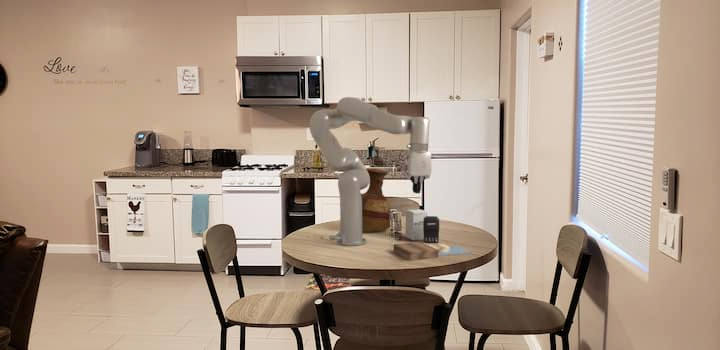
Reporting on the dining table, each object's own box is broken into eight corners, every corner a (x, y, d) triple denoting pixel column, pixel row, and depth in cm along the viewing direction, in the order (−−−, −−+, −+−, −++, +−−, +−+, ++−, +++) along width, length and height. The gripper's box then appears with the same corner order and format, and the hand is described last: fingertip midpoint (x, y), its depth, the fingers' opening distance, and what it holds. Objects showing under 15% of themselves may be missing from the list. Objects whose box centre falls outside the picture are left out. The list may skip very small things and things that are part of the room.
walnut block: (410, 260, 208) (410, 252, 208) (393, 251, 222) (393, 244, 222) (438, 257, 213) (438, 249, 213) (420, 248, 227) (420, 241, 226)
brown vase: (389, 235, 253) (389, 170, 250) (346, 234, 256) (345, 170, 253) (393, 226, 273) (393, 166, 269) (353, 225, 276) (353, 166, 273)
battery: (423, 243, 237) (423, 217, 235) (422, 241, 240) (422, 215, 239) (439, 243, 236) (440, 217, 235) (438, 241, 240) (439, 215, 239)
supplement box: (412, 240, 242) (412, 212, 241) (405, 237, 249) (405, 209, 248) (427, 239, 245) (427, 211, 243) (419, 235, 252) (419, 208, 250)
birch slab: (432, 253, 217) (432, 248, 217) (425, 250, 223) (425, 245, 223) (449, 251, 220) (449, 246, 220) (442, 248, 226) (442, 243, 226)
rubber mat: (437, 256, 214) (437, 255, 214) (422, 249, 226) (422, 248, 226) (471, 252, 220) (471, 251, 220) (455, 246, 231) (455, 245, 231)
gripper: (406, 148, 215) (403, 194, 217) (439, 148, 221) (437, 193, 223) (398, 146, 222) (395, 191, 224) (430, 147, 227) (428, 191, 230)
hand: (416, 192), depth 224 cm, fingers closed
